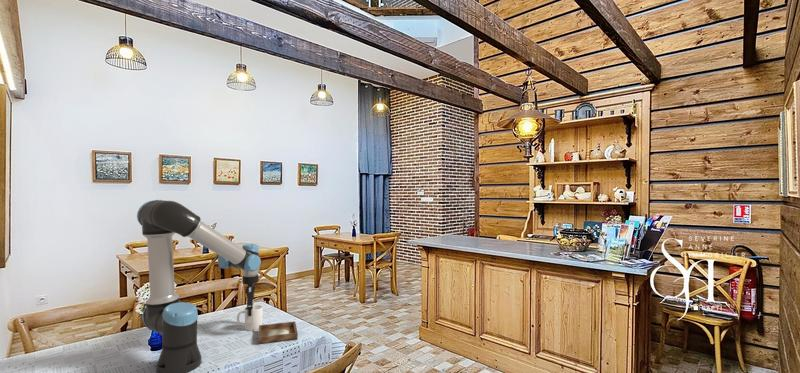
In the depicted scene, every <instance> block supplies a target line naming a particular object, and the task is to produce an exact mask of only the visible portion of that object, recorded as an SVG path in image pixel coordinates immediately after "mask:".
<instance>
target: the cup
mask: <svg viewBox="0 0 800 373" xmlns="http://www.w3.org/2000/svg"><path fill="white" fill-rule="evenodd" d="M248 307H249V306H248ZM245 308H247V306H246V307H245ZM263 309H264V306H262V305H260V304H254V305H253V322H248V323H247V310H245V309H244V310H240V311H238V313H237V316H236V321H237V324H238V325H239V326H244V329H245V330H246V331H249V332H252V331H259V325H263V323H264V322H263V321H264V320H263V317H264V316H263V314H264V312H263ZM241 314H244V322H241V321H240V316H241Z"/></svg>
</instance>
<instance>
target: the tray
mask: <svg viewBox="0 0 800 373" xmlns="http://www.w3.org/2000/svg"><path fill="white" fill-rule="evenodd" d="M298 335H299V334H298V329H297V324H296V321H287V322H278V323H268V324H262V325H259V329H258V336H257V337H258V339H257V340H258V342H257V343H258V345H265V344H272V343H273V344H274V343H281V341H283V342H291V341H296V340H299V338H298ZM290 340H291V341H290Z"/></svg>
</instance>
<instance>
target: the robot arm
mask: <svg viewBox="0 0 800 373" xmlns="http://www.w3.org/2000/svg"><path fill="white" fill-rule="evenodd" d="M136 218H137V219H136V220H137V222H138V223H139V225H140V226H141V231H142V233H141V234H142V236H143V237H144V238H146V239H147V240H146V241H147V259H148V260H147V261H148V279H149V283H148V284H149V297H148V299H146V301H145V307H144V309H143V310H142V313H141V320H142V323H143V325H145V327H146V328H147V329H149V330H150V331H152V332H155V333H157V334H159V335H161V336H162V338H161V340H162V345H161V346H162V347H161V348H162V349H161V352H160V355H159V357H158V359H157V362H156V369H155V371H156V373H188V372H191V371H193V370H195V369H197V368H198V367H200V366H201V364H202V354H201V351H200V348H199V346H198V317H199V315H198V308H197V306H196V305H195V304H194V303H192V302H191V303H190V302H182V301H180V295H179V294H177V293H176V290H175V289H176V288H175V269H174V247H173V246H174V245H173V236H174V235H175V234H177V235H180V236H181V237H183V238H189V239H192V240H193V241H194V242H196V243H199V244H200V245H201V246H203V247H205V248H207V249H208V250H210V251H211V252H213V253H215V254H217V255H218V256H217V265H218V266H219V267H220V268H221V269H223V270H224V269H229V268H232V269H238V270H242V271H241V272H242V274H241V276H242V277H241V278H242V279H241V280H242V282H241V283H242V284H243V285H247V286H246V287H245V288H246V289H245V292H246V307H247V308H246V307H245V308H244V311H245V310H247V323H248V322H253V305H255V300H256V296H255V289H256V286H255V284H258V283H259V280H260V278H259V271H260V269H261V268H260V267H261V262H262V261H261V257H260V252H259V245H258V244H257V243H245V244H243V245H242V246H240V245H239V244H236V243H235V242H233V241H232V240H231V239H229V238H228V237H226V236H224V235H223V234H222V233H220V232H218V231H217V230H216V229H214V228H212V227H211V226H209V225H208V224H206V223H205V222H203V221H202V218H201V217H200V216H199V215H198V214H196V213H194V212H193V211H192V210H190V209H189V208H188V207H186V206H184V205H183V204H181V203H179V202H177V201H174V200H162V199H155V200H149V201H147V202H145V203H143V204H142V205H141V206H140V207H138V210H137V214H136ZM248 306H249V307H248Z"/></svg>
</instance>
